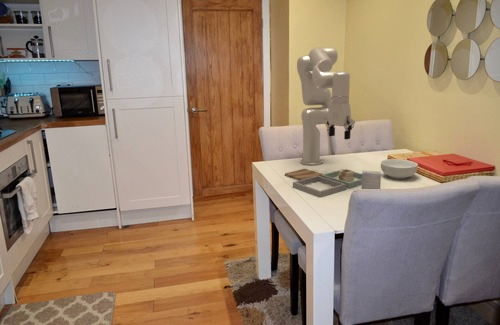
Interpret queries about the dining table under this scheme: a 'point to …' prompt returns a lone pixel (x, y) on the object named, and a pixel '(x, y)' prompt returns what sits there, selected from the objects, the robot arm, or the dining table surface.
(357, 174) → the green tray
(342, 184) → the grey rectangular frame
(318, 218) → the dining table surface
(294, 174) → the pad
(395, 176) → the cereal bowl
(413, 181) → the dining table surface
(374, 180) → the medicine box
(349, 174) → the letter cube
